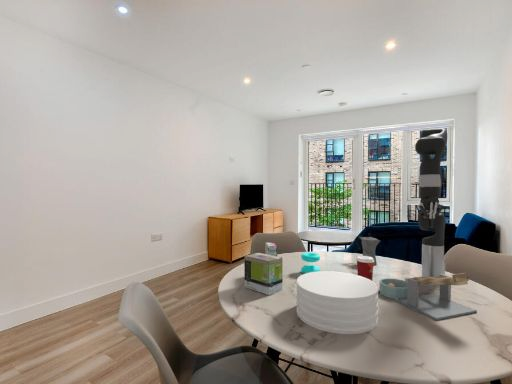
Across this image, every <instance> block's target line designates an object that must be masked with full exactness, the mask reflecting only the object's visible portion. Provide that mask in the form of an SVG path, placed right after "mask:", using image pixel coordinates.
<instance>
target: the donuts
mask: <svg viewBox="0 0 512 384" xmlns="http://www.w3.org/2000/svg"><path fill="white" fill-rule="evenodd" d="M300 257H301V259H302V261H303V262H307V263H317V262H319V261H320V259H321V256H320V254H318V253H316V252H304V253H302V254H301V256H300ZM317 271H321V269H320V267H319V266H317V265H315V264H305V265H303V266H301V269H300V272H301V273H302V274H306V273H310V272H317Z"/></svg>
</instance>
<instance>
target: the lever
mask: <svg viewBox="0 0 512 384" xmlns="http://www.w3.org/2000/svg"><path fill="white" fill-rule="evenodd" d="M408 278H409V277H405V278H403V279H404V281H406V282H407V284H408ZM410 278H411V279H414V280H417V281H419V285H430V286H431V285H432V286H440V285H451V286H464V285H469V281H470V279H469V276H468V273H467V272H462V273H456V274H451V276H450V277H422V276H414V277H410ZM419 285H418V286H419Z"/></svg>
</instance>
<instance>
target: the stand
mask: <svg viewBox="0 0 512 384" xmlns="http://www.w3.org/2000/svg"><path fill="white" fill-rule="evenodd" d="M440 277H451V276H450V275H447V274H445V275H444V274H440ZM407 278H408V296H407V298H402V299H396V302H397V303H399V304H401V305H403V306H405V307H408V308H409V309H411V310H414V311H415V312H417V313H419V314H421V315H424V316H426V317H428V318H430V319H432V320H434V321H436V322H437V321H443V320H445V319H446V320H447V319H452V318H456V317H461V315H462V316H465V314H467V315H471V314H470V313H472V314H475V313H474V312H477V313H478V310H477V309H475V308H472V307H469V306H467V305H464V304H462V303H459V302H457V301H453V300H452V299H451V298H452V297H451V296H452V285H439V295H438V294H436V293H429V294H421V295H419V281H417V280H414V279H411V278H412V277H407Z"/></svg>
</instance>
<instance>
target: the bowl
mask: <svg viewBox="0 0 512 384" xmlns="http://www.w3.org/2000/svg"><path fill="white" fill-rule="evenodd" d="M390 283H392V284H394V286H395V287H392V286H388V284H390ZM378 285H379V286H378V292H379V293H380V294H381V295H382V296H384V297H387V298H390V299H395V300H397V299H402V298H407V296H408V284H407V282H406V281H405V279H404V280H403V279H398V278H390V277H389V278H388V277H386V278H382V279H380V280H379V284H378Z"/></svg>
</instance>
